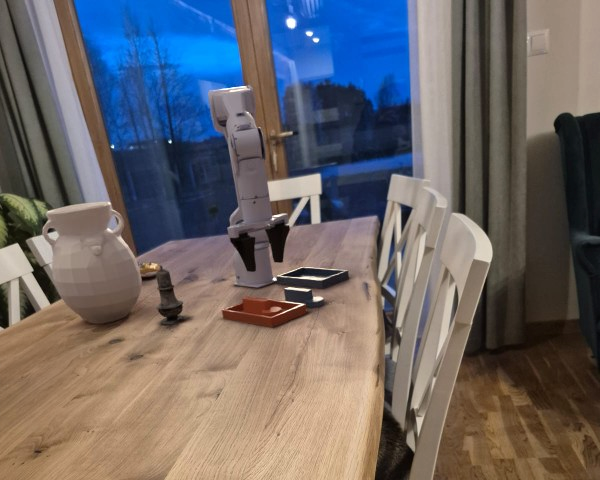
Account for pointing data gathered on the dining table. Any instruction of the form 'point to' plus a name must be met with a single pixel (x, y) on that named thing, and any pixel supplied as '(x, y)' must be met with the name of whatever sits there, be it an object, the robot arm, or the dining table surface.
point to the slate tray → (312, 277)
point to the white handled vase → (93, 262)
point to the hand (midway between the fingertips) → (265, 266)
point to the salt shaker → (168, 299)
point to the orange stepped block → (260, 307)
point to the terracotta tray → (288, 313)
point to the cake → (148, 268)
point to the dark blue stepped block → (302, 297)
